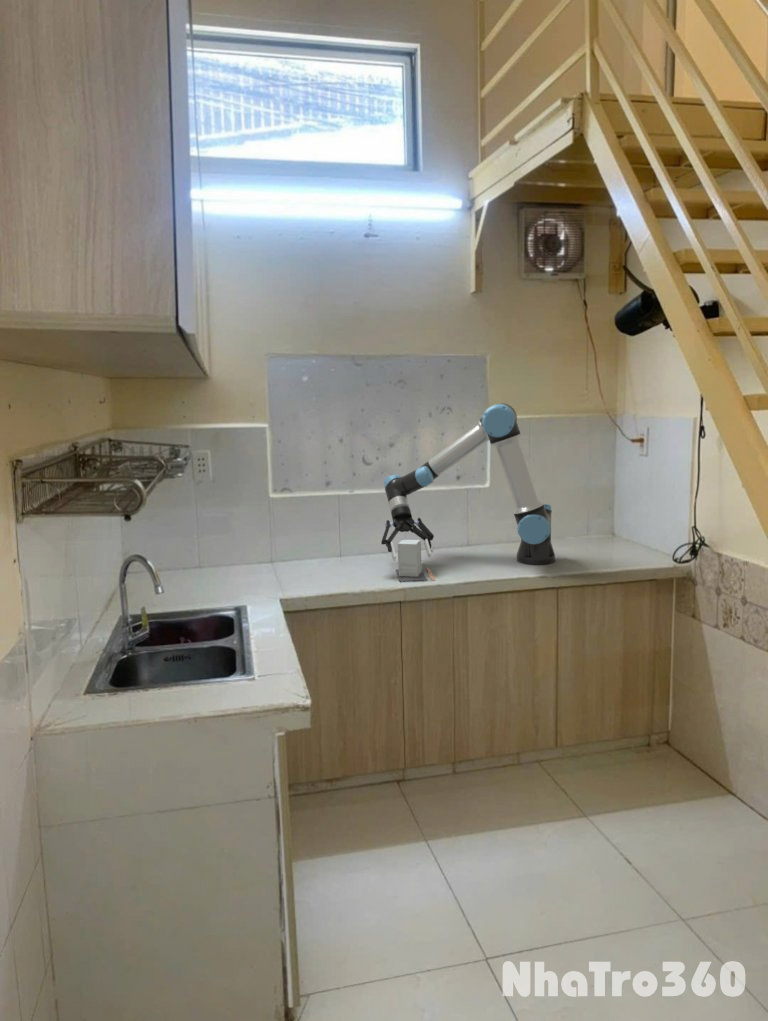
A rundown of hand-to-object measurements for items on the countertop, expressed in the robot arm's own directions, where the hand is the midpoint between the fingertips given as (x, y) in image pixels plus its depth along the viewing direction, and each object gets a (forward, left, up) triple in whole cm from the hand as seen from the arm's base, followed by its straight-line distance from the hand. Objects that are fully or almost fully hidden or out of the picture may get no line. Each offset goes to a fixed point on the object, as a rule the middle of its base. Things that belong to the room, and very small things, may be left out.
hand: (412, 557), depth 255 cm
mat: (0, -2, -8) cm, 8 cm away
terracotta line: (-7, -2, -8) cm, 11 cm away
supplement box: (+1, -2, -7) cm, 8 cm away
